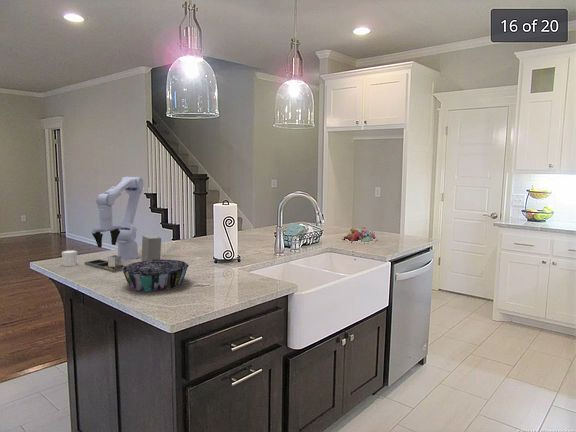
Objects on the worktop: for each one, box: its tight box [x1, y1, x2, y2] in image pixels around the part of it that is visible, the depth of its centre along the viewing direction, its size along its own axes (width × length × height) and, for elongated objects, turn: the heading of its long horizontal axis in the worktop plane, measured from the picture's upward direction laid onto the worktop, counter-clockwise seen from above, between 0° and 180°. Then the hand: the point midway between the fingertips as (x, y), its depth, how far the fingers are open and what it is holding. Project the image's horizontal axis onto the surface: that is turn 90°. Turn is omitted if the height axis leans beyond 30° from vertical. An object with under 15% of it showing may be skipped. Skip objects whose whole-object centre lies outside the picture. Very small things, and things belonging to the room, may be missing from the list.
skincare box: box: [140, 234, 162, 261], centre depth 205 cm, size 8×7×16 cm
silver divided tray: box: [84, 258, 126, 274], centre depth 205 cm, size 8×24×2 cm, turn 56°
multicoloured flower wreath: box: [343, 226, 376, 242], centre depth 296 cm, size 25×24×9 cm
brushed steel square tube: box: [107, 254, 122, 269], centre depth 200 cm, size 4×4×6 cm
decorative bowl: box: [121, 258, 190, 293], centre depth 178 cm, size 26×28×10 cm
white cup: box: [61, 249, 78, 267], centre depth 206 cm, size 7×7×7 cm
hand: (106, 245), depth 207 cm, fingers open, 7 cm apart
